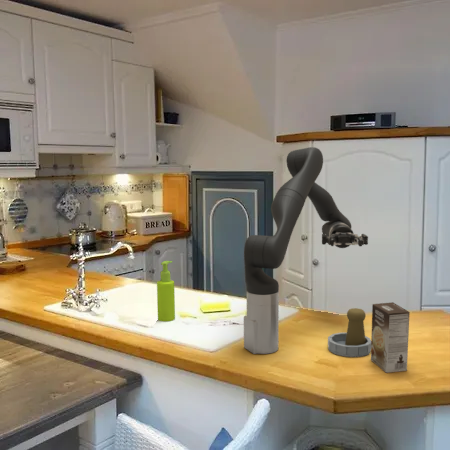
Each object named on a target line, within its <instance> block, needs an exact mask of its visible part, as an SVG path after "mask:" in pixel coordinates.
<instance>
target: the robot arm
mask: <svg viewBox="0 0 450 450" xmlns="http://www.w3.org/2000/svg"><path fill="white" fill-rule="evenodd" d="M323 164H324V157H323V153H322V151H321V150H320V148H318V147H314V146H313V147H312V146H311V147H305V148H300V149H295V150H291V151H289V152H288V154H287V156H286V167H287V170H288V172H289V174H290V175H291V178H290V179H288V180H287V181H286V182H284V184H282V185H281V187H280V188H279V189H278V190H277V192H276V193H275V196H274V198H273V200H272V203H271V205H270V212H271V215H272V219H273V221H274V223H275V225H276V231H275V234H274V235H261V234H259V235H257V234H253V235H252V234H251V235H249V236H248V237H247V238H246V240H245V242H244V247H243V261H244V262H243V263H244V281H245V284H246V285H245V286H246V315H244V316H243V348H244V349H245V350H247V351H249V352H250V353H252V354H253V355H256V354H258V355H259V354H261V355H265V354H267V355H268V354H273V353H276V352H277V351H278V350H279V319H280V318H279V308H280V307H279V305H280V302H279V300H280V299H279V298H280V296H279V294H280V293H279V291H280V289H279V288H280V285H279V282H278V281H277V279H276V278H273V277H271V276H270V275H269V274H267V273H266V272H265V271H264V270H263V269H269V270H275V269H279V268H280V266H282V264H283V262H284V260H285V256H286V254H287V250H288V247H289V244H290V241H291V236H292V235H293V231H294V229H295V226H296V224H297V222H298V220H299V217H300V216H301V214H302V210H303V208H304V206H305V203H306V200H307V198H308V199H309V200H310V202H311V203H312V204H313V206H314V208H315V210H316V213H317V215H318V216H319V218H320V220H321V221H323V222H325V223H323V224H322V226H321V245H326V244H327V245H329V246H330V247H334V246H335V247H337V248H339V249H345V248H349V247H350V246H359V247H363V246H367V245H368V244H369V236H368V235H366V234H365V233H362V234H360V236H359V235H358V234H356V233H355V232H354V231H353V229H352V222H351V221H350V220H349V218H348V217H347V216H345V215H344V214H343V213H342V212H341V210H339V208H338V206H337V204H336V202H335V200H334V198H333V196H332V195H331V194H330V192H328V191H327V189H325V188H324V187H322V186H321V185H319V184H318V183H317V182H316V180H317V179H318V178H319V175H320V173H321V171H322V170H323V166H324V165H323Z"/></svg>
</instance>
